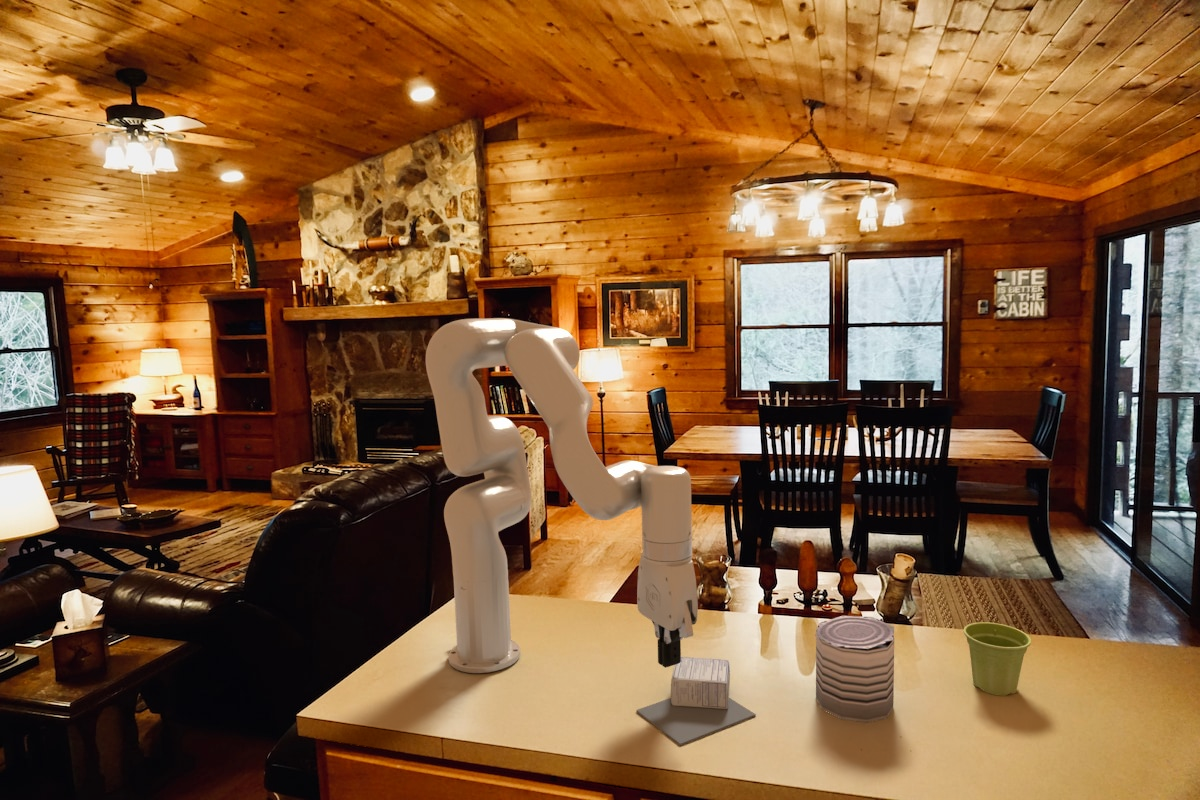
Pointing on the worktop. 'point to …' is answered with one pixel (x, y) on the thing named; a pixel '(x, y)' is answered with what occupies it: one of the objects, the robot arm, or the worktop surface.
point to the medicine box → (701, 683)
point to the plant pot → (996, 656)
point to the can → (855, 668)
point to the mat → (692, 719)
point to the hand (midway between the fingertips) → (669, 663)
